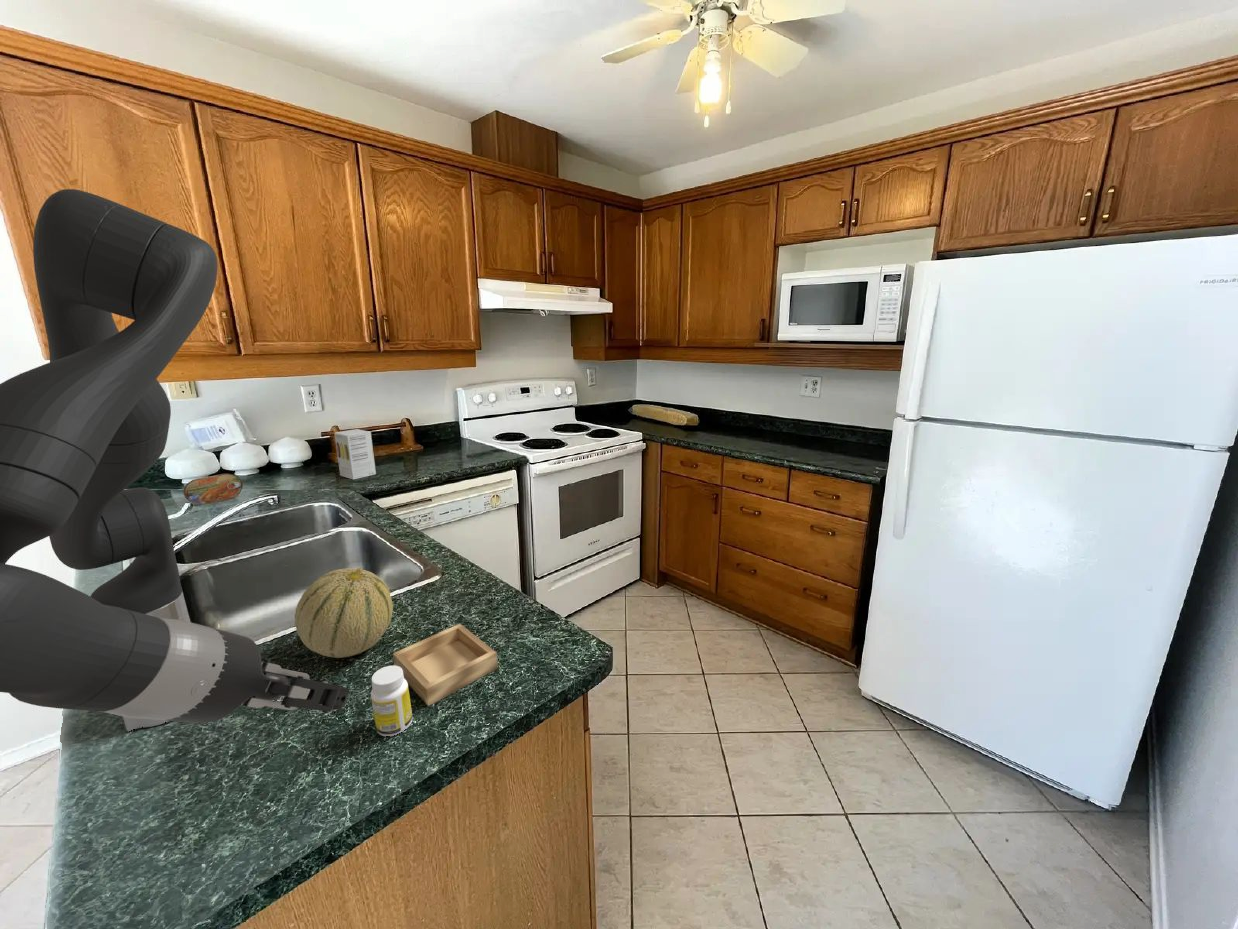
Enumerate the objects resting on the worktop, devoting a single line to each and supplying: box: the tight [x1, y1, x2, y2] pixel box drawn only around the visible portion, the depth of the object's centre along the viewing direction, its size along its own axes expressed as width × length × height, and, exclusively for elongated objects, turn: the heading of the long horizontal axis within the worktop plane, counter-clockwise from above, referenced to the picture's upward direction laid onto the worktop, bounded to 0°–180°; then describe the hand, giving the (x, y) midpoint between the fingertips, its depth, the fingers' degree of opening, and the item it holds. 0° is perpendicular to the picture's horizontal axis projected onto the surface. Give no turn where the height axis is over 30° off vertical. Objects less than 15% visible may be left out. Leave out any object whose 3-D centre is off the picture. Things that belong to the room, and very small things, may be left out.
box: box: [392, 623, 499, 707], centre depth 82 cm, size 12×12×3 cm
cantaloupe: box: [294, 567, 394, 659], centre depth 86 cm, size 15×15×15 cm
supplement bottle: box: [370, 665, 413, 737], centre depth 70 cm, size 5×5×8 cm
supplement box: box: [334, 428, 377, 480], centre depth 189 cm, size 10×9×17 cm
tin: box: [183, 473, 244, 506], centre depth 161 cm, size 15×3×8 cm, turn 143°
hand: (311, 692), depth 56 cm, fingers open, 8 cm apart
